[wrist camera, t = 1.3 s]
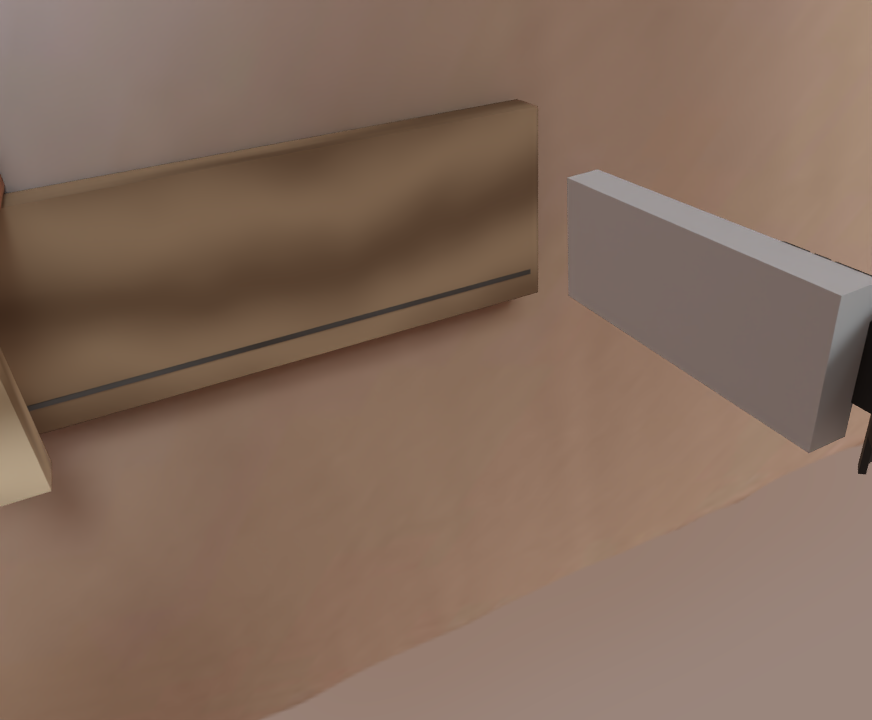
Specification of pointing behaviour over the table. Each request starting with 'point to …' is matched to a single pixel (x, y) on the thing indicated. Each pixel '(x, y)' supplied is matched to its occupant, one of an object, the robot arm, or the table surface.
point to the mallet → (19, 441)
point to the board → (261, 257)
